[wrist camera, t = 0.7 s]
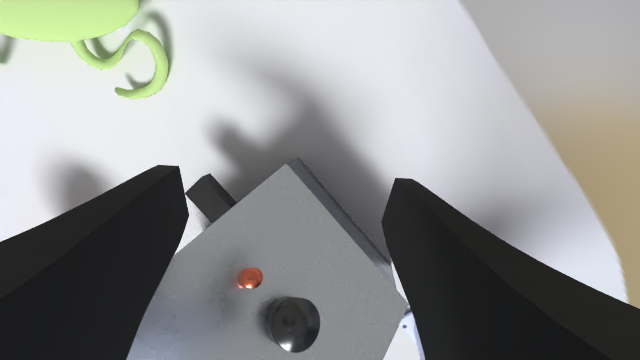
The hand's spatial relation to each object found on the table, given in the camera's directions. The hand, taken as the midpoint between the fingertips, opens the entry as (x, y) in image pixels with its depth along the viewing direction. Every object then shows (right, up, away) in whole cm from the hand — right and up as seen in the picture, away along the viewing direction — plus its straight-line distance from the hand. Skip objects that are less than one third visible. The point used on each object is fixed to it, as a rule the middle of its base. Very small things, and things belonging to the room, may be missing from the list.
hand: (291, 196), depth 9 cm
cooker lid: (-2, -9, +10) cm, 13 cm away
